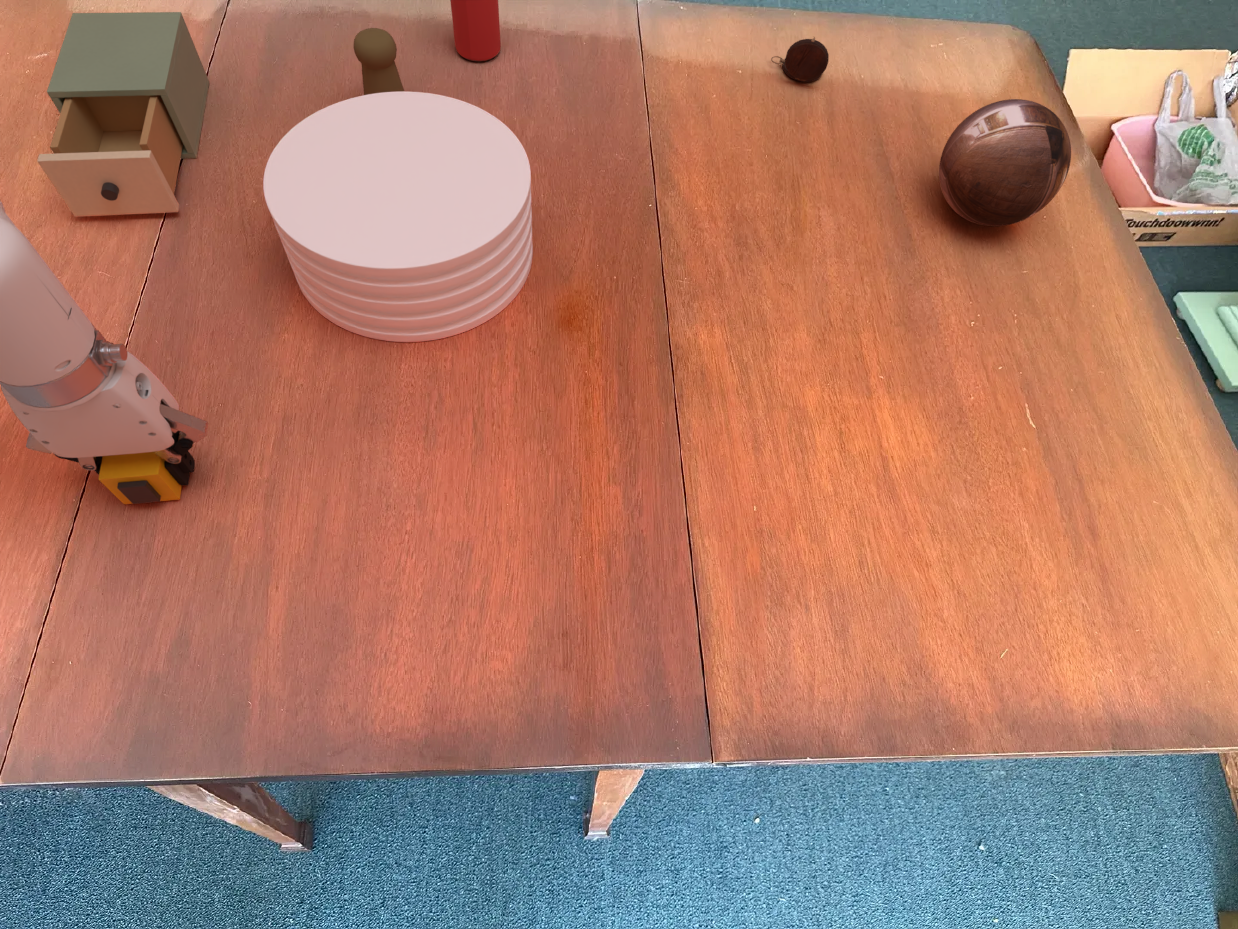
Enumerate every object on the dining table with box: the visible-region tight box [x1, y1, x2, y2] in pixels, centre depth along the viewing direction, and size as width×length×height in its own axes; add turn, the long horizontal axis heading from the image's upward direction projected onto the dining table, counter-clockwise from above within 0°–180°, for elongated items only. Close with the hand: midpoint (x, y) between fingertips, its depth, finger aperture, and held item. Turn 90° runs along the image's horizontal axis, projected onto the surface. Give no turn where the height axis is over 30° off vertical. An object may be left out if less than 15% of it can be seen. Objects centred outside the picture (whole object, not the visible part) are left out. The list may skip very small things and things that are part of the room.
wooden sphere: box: [938, 98, 1072, 227], centre depth 99 cm, size 15×15×15 cm
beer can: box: [449, 0, 502, 62], centre depth 109 cm, size 7×7×12 cm
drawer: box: [36, 95, 183, 218], centre depth 92 cm, size 16×11×8 cm
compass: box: [770, 36, 830, 83], centre depth 115 cm, size 8×8×7 cm
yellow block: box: [98, 452, 183, 505], centre depth 73 cm, size 5×6×5 cm
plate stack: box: [262, 90, 534, 343], centre depth 89 cm, size 28×28×12 cm
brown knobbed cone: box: [353, 27, 405, 95], centre depth 101 cm, size 6×6×11 cm
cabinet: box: [46, 11, 210, 160], centre depth 97 cm, size 16×13×10 cm
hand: (154, 474), depth 75 cm, fingers closed on yellow block, 5 cm apart
